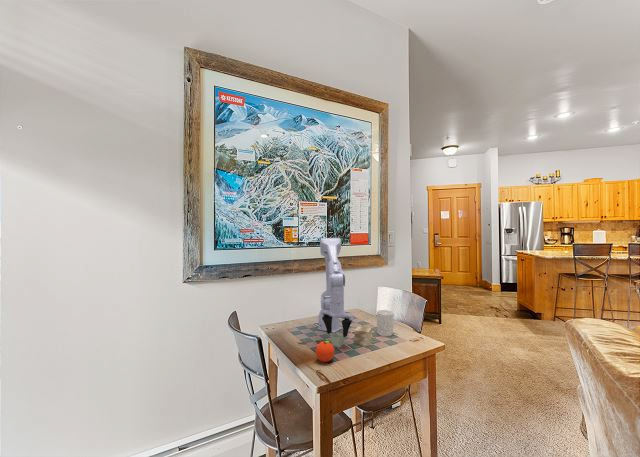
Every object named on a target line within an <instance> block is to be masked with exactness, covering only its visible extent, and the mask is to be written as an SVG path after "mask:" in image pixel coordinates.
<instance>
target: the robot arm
mask: <svg viewBox="0 0 640 457" xmlns="http://www.w3.org/2000/svg"><path fill="white" fill-rule="evenodd" d="M319 245H320V246H319V248H320V250H319V251H320V255H321V256H323V257H324V260H325V282H326V285H325V287H326V289H325V291H323V292H322V293H321V295H320V311H319V313H318V328H317V330H320V331H324V332H326V333H327V334H328V335H329V334H331V333H333V334H335V333H336V332H338V331H340V330H342V335H343V337H344V338H346V337H348V335H349V334H348V333H349V329H350V326H351V325H352V322H353V321H354V318H355V316H354V314H352V313H349V312H345V303H344V302H345V298H344V297H345V293H344V292H345V291H344V287H346V275H345V273H344V271H343V268H342V264H341V261H340V260H339V258H338V256H339V255H340V253H341V249H342V240H341V238H340V237H327V238H326V237H321V238H320V241H319ZM340 319H342V320H341V326H340Z"/></svg>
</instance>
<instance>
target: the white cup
mask: <svg viewBox="0 0 640 457" xmlns="http://www.w3.org/2000/svg"><path fill="white" fill-rule="evenodd" d="M375 314H376V327H377V335H379V336H382V337H391V336H393V335H394V332H393V330H394V321H395V320H394V315H395V312H394V311H393V310H388V309H378V310H377V311H376V312H375Z"/></svg>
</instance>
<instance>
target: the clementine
mask: <svg viewBox="0 0 640 457" xmlns="http://www.w3.org/2000/svg"><path fill="white" fill-rule="evenodd" d="M331 343H332V342H331V340H325V341H321V342H320V343H318V344H317V345H316V347H315V356H316V357H317V359H318V360H319V361H320V362H322V363H323V362H324V363H326V362H330V361H331V360H332V359H333V358H334V356H335V346H333V345H332V344H331Z"/></svg>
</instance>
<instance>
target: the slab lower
mask: <svg viewBox="0 0 640 457" xmlns="http://www.w3.org/2000/svg"><path fill="white" fill-rule="evenodd" d="M373 342H374V336H373V334H372V335H371V337H370V338H369V339H362V338H355V335H354V336H353V344H354V345H358V346H363V347H368V346H369V345H371V344H372V343H373Z"/></svg>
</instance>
